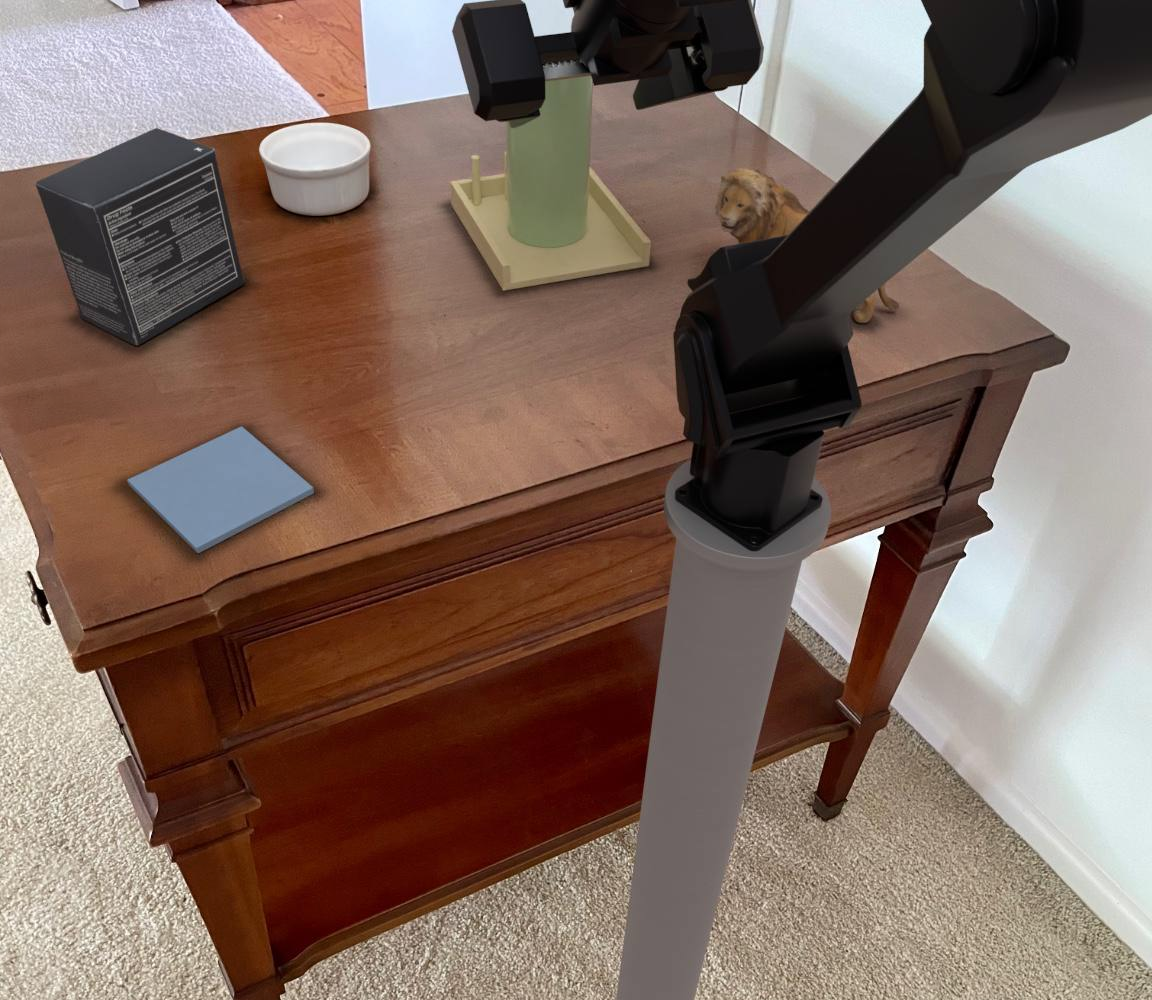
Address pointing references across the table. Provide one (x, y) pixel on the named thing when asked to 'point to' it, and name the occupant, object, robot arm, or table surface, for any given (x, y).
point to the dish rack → (520, 265)
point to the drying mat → (220, 488)
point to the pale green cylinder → (551, 167)
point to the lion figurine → (769, 217)
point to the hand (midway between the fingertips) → (575, 111)
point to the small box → (143, 233)
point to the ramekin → (317, 167)
